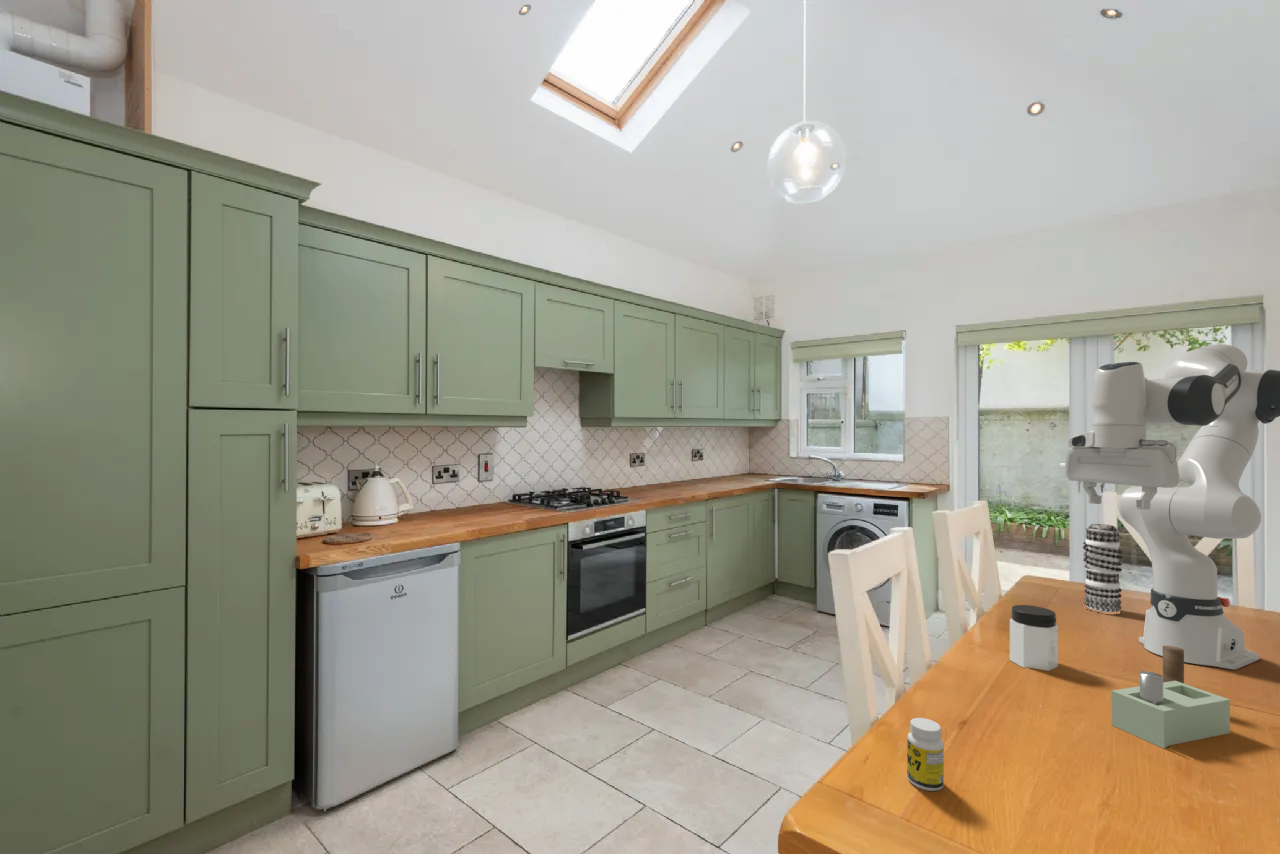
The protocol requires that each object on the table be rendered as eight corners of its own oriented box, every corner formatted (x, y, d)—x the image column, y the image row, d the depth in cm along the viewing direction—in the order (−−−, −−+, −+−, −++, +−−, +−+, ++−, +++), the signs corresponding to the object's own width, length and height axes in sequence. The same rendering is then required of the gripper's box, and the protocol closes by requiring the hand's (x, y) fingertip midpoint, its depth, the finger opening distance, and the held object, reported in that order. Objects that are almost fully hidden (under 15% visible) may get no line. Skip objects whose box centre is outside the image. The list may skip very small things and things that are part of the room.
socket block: (1175, 713, 107) (1175, 680, 107) (1230, 735, 100) (1229, 699, 100) (1111, 725, 103) (1111, 690, 103) (1163, 748, 95) (1163, 711, 95)
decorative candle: (1074, 607, 175) (1074, 523, 175) (1099, 605, 177) (1099, 522, 178) (1105, 616, 166) (1105, 527, 167) (1131, 614, 168) (1130, 527, 169)
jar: (1045, 675, 124) (1045, 618, 124) (1004, 662, 131) (1004, 608, 131) (1063, 666, 129) (1063, 611, 129) (1023, 654, 136) (1023, 602, 136)
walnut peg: (1169, 696, 113) (1169, 644, 113) (1188, 703, 110) (1187, 650, 111) (1158, 698, 112) (1158, 646, 113) (1177, 705, 110) (1176, 651, 110)
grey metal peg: (1147, 728, 102) (1147, 670, 102) (1167, 736, 99) (1167, 677, 99) (1135, 730, 101) (1135, 672, 101) (1155, 739, 98) (1155, 679, 98)
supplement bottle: (900, 773, 87) (901, 716, 87) (931, 772, 88) (931, 715, 88) (918, 793, 82) (919, 732, 83) (950, 791, 83) (950, 731, 83)
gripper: (1187, 440, 113) (1187, 512, 113) (1081, 439, 133) (1081, 500, 132) (1164, 439, 111) (1164, 512, 111) (1060, 439, 131) (1059, 501, 131)
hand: (1118, 506), depth 122 cm, fingers open, 8 cm apart
